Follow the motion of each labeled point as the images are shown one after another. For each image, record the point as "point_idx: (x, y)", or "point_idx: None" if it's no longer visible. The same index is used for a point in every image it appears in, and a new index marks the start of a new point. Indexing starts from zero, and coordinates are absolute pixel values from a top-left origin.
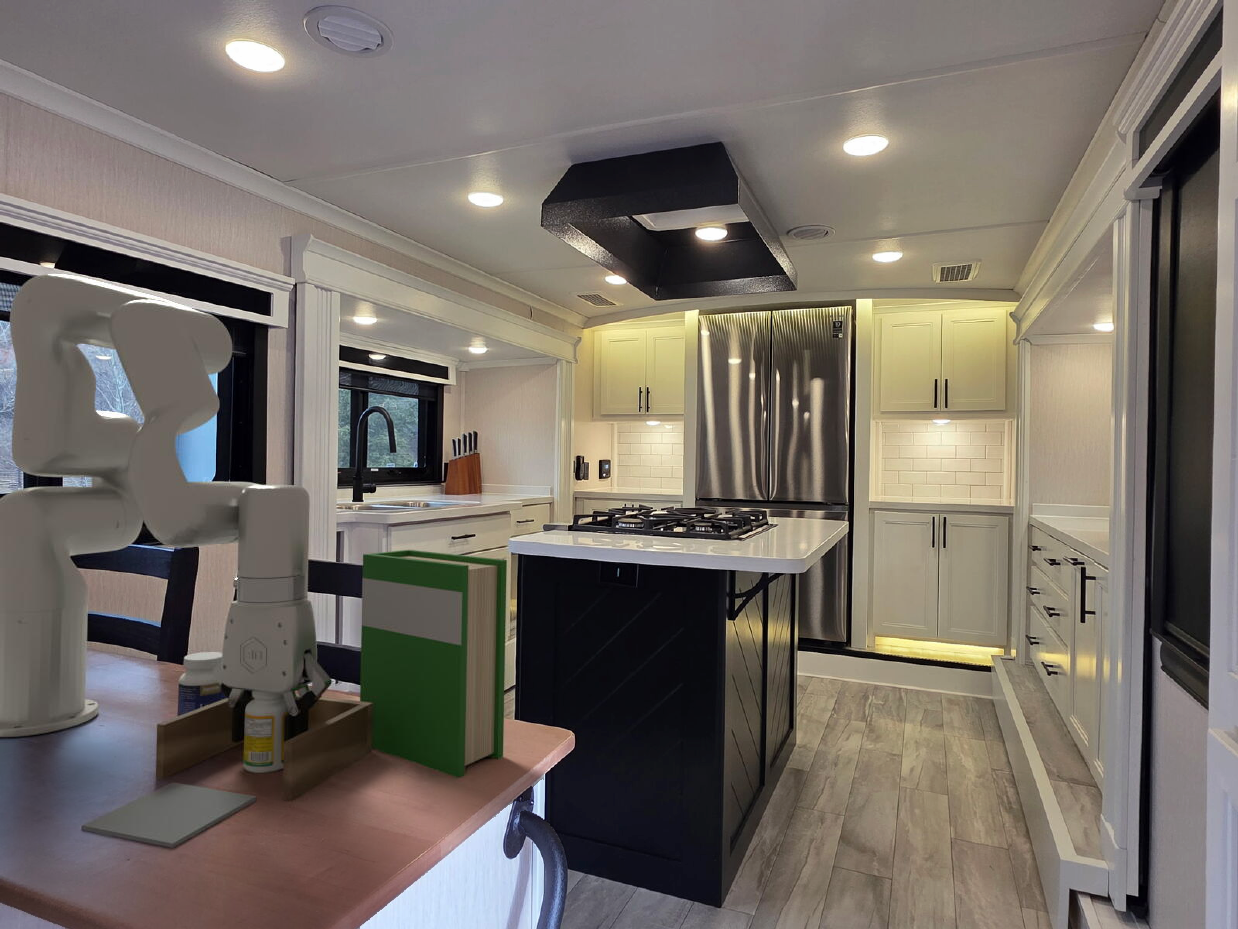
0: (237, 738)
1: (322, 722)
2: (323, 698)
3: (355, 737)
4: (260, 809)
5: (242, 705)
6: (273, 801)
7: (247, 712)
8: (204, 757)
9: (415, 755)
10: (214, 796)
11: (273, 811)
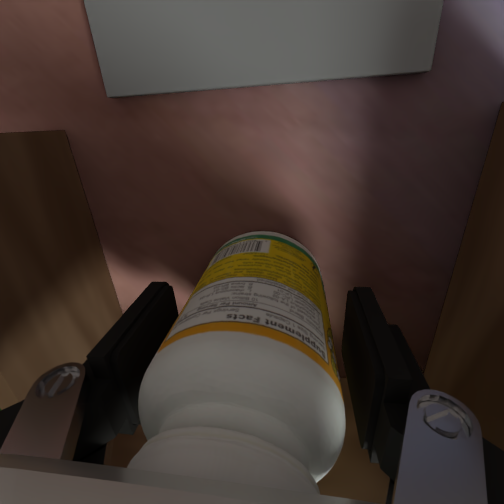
0: (351, 295)
1: None
2: None
3: None
4: (59, 59)
5: (384, 414)
6: (76, 114)
7: (274, 347)
8: (462, 260)
9: None
10: (209, 41)
11: (23, 64)
